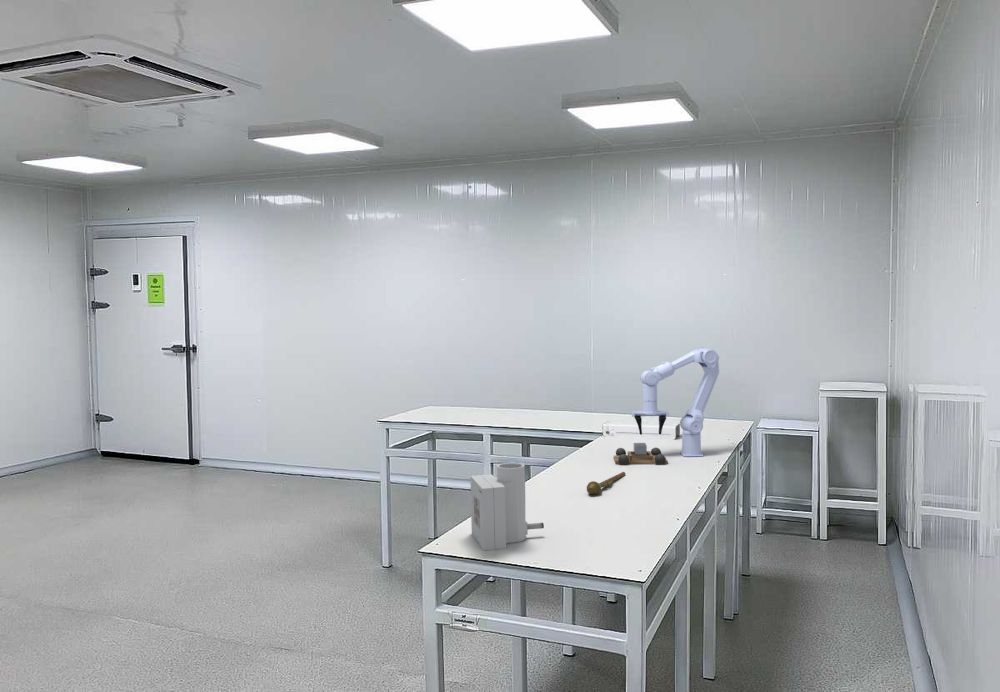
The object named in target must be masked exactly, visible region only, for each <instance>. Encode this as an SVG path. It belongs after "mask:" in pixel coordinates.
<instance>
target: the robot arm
mask: <svg viewBox="0 0 1000 692" xmlns="http://www.w3.org/2000/svg"><path fill="white" fill-rule="evenodd" d="M719 360H720V356H719V354H718V353H717V351H716V350H715V349H713V348H704V347H698V348H697V349H693V350H691V351H690V352H688V353H686V354H684V355H682V356H681V357H679V358H677V359H675V360H674V361H671V362H669V361H662V362H660V365H657V366H654V367H651V368H650V370H644V371H643V372H642V373H641V376H640V382H641V383H642V410H636V411H635V410H634V411H633V410H632V411H631V417H633V418H634V419H635V422H637V424H638V427H639V432H640V435H642V427H641V424H642V422H643V421H642V420H643V418H642V417H658V423H659V434H661V432H662V428H663V425H664V423H666V420H667V417H669V416H670V414H669V413H670V412H669V411H668V410H658V384H659V383H660V382H661V381H663V380H665V379H666V378H669V377H671V376H673V375H674V374H675V372H676V370H678V369H680V368H682V367H685V366H688V365H689V364H691V363H697V364H699V365H700V366H701V368H702V370H703V372H704V374H703V376H702V378H701V381H700V384H699V386H698V389H697V391H696V393H695V397H694V398H693V400H692V401H693V402H692V404H691V406H690V408H689V409H688V410H687V411H686V412H685V414H684V415H683V416H682V417H681V419H680V421H679V424H680V429H682V437H681V444H682V445H681V448H682V450H680V451H679V453H680V454H681V456H682V457H703V456H704V454H702V452H701V450H702V449H701V448H702V447H701V446H702V444H701V443H702V442H701V441H702V440H701V437H702V436H701V432H702V430H703V428H704V420H705V416H704V411H705V409H706V406H707V405H708V404H707V403H708V401H709V399H710V396H711V395H712V392H713V389H714V387H715V384H716V382H717V379H718V377H719V374H720V365H719Z"/></svg>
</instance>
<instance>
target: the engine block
mask: <svg viewBox="0 0 1000 692" xmlns="http://www.w3.org/2000/svg"><path fill="white" fill-rule="evenodd" d="M647 446H648V445H647V444H646V442H633V451H634V456H647V451H648V449H647V448H648V447H647Z"/></svg>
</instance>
